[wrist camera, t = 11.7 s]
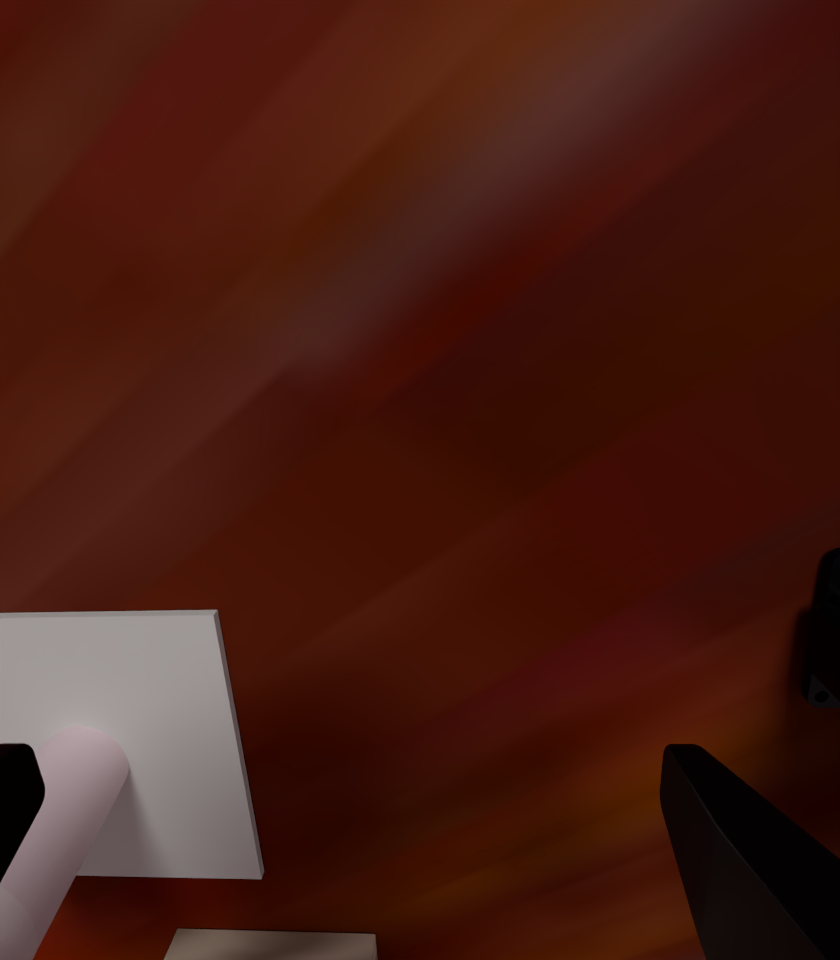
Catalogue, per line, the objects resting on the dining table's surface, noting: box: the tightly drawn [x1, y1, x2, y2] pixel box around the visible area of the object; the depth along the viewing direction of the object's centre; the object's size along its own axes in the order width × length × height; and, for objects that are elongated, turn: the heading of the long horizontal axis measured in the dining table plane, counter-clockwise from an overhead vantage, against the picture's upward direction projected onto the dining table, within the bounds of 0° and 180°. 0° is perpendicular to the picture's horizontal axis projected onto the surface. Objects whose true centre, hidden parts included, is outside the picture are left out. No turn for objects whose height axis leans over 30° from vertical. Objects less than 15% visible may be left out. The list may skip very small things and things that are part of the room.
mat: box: [0, 610, 264, 879], centre depth 25 cm, size 14×14×1 cm
